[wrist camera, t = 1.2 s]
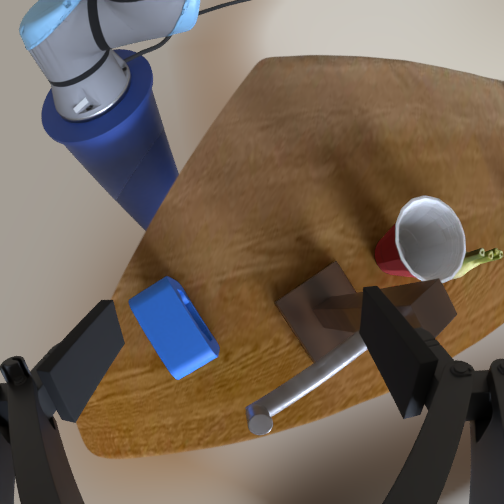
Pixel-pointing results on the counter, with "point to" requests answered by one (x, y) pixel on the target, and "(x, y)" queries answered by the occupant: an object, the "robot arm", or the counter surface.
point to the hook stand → (340, 331)
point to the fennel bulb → (477, 259)
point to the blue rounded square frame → (174, 327)
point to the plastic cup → (423, 242)
